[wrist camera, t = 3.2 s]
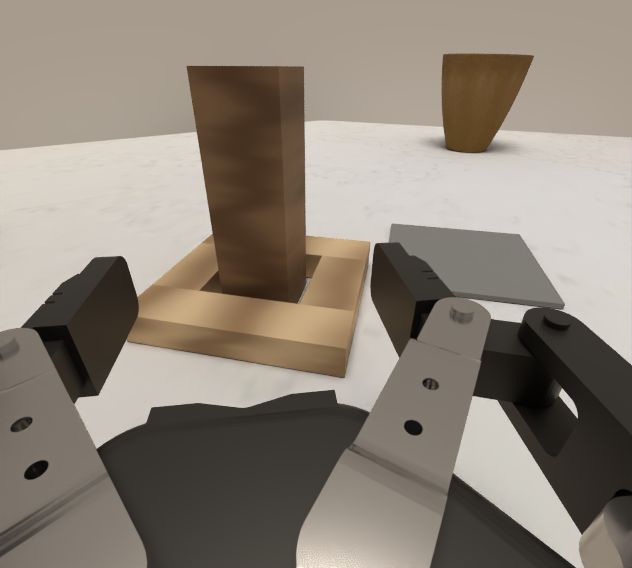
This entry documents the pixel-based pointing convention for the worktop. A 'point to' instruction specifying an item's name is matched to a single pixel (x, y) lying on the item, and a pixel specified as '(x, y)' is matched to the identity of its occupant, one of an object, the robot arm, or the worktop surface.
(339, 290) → the oak socket
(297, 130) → the walnut post
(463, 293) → the grey mat
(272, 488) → the robot arm
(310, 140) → the worktop surface
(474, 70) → the plant pot
